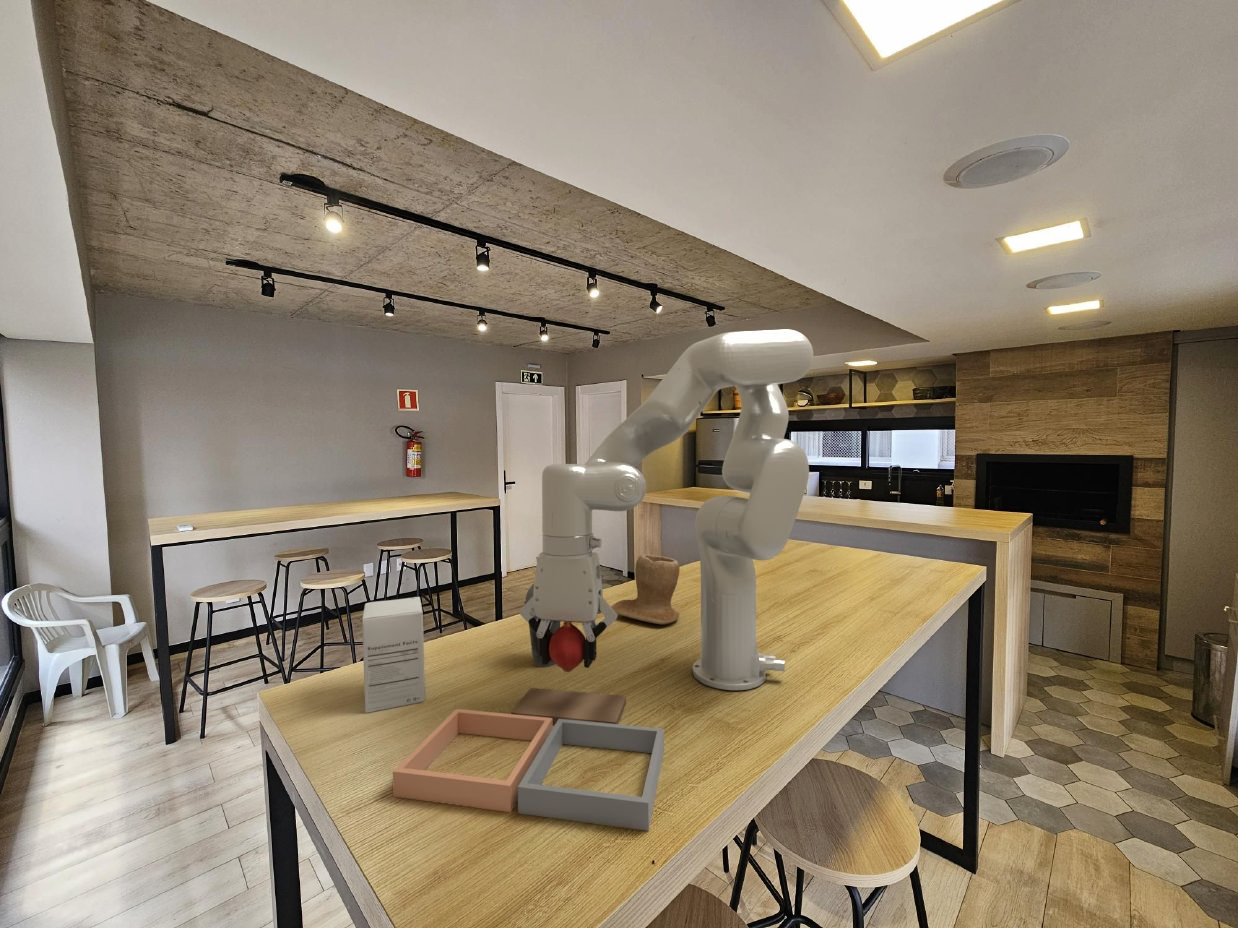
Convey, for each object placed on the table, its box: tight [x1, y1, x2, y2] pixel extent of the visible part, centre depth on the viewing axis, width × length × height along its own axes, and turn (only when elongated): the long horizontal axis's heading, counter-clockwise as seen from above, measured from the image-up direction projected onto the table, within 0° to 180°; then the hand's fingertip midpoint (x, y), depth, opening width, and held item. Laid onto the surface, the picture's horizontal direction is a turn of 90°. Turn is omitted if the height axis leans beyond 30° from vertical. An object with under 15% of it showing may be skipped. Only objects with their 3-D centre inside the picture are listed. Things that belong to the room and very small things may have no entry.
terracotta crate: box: [392, 708, 554, 813], centre depth 66 cm, size 15×15×3 cm
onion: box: [549, 622, 586, 673], centre depth 79 cm, size 6×6×8 cm
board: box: [510, 687, 627, 726], centre depth 79 cm, size 16×8×1 cm, turn 79°
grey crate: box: [517, 719, 665, 832], centre depth 63 cm, size 15×15×3 cm
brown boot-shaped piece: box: [611, 554, 681, 625], centre depth 122 cm, size 15×12×15 cm
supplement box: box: [361, 596, 426, 714], centre depth 85 cm, size 9×9×15 cm
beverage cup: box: [524, 556, 561, 668], centre depth 98 cm, size 7×7×20 cm
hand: (568, 661), depth 79 cm, fingers closed on onion, 5 cm apart
